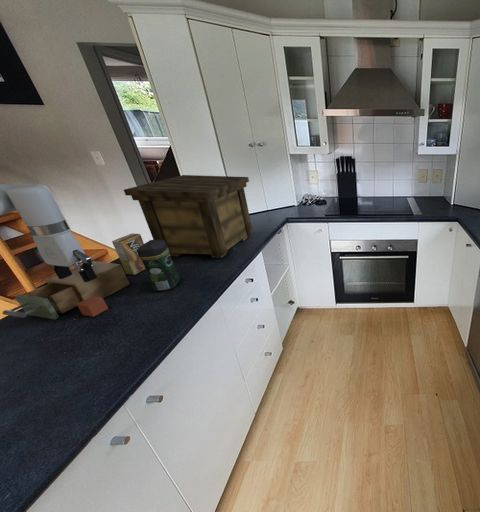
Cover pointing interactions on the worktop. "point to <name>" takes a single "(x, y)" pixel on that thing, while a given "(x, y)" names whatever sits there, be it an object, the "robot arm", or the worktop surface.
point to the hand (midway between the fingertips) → (78, 278)
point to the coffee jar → (158, 265)
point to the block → (92, 306)
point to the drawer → (47, 301)
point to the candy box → (129, 253)
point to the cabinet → (96, 280)
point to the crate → (196, 212)
